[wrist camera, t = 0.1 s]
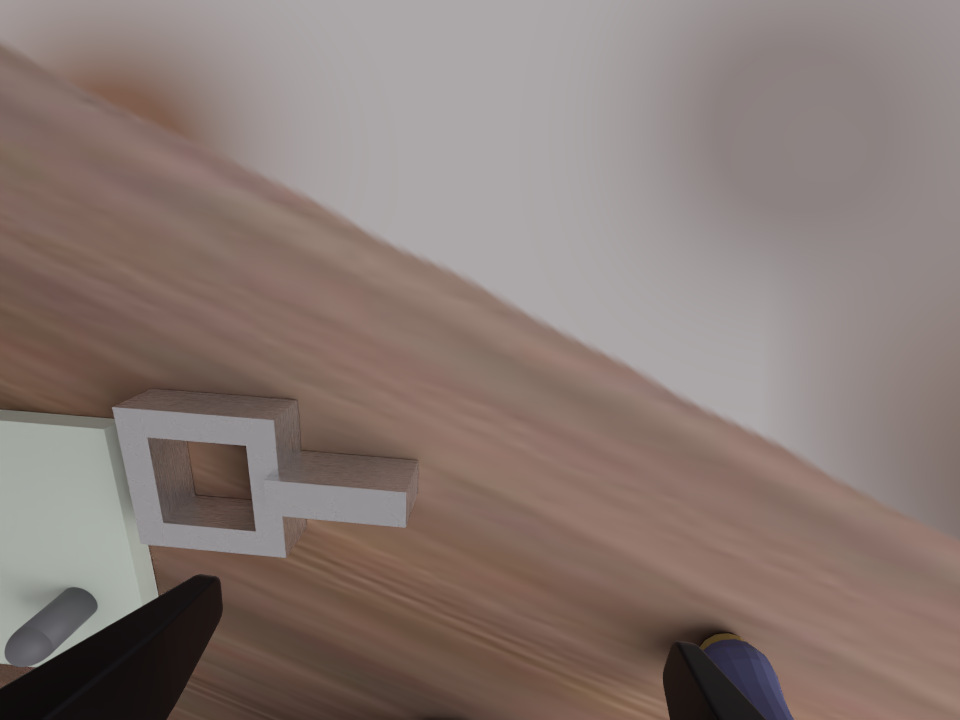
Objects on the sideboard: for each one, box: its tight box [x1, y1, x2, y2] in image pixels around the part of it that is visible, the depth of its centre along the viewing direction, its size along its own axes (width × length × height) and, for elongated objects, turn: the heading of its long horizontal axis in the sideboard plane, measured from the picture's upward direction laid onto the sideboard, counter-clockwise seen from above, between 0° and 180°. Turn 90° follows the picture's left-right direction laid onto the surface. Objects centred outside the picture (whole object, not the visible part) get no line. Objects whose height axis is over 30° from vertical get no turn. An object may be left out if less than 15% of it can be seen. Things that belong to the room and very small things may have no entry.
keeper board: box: [0, 409, 159, 667], centre depth 25 cm, size 18×11×5 cm, turn 177°
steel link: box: [112, 389, 418, 558], centre depth 23 cm, size 14×8×3 cm, turn 87°
